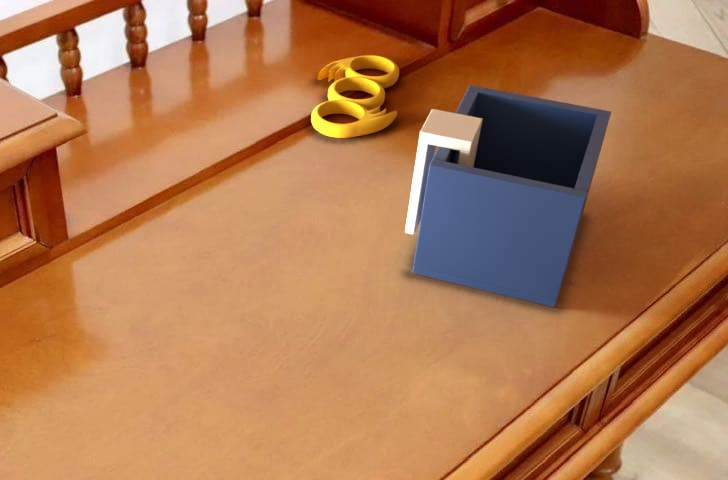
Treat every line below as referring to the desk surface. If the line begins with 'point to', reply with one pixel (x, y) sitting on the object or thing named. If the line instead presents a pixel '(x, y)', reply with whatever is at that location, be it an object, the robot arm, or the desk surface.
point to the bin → (511, 196)
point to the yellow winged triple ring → (358, 108)
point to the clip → (435, 132)
